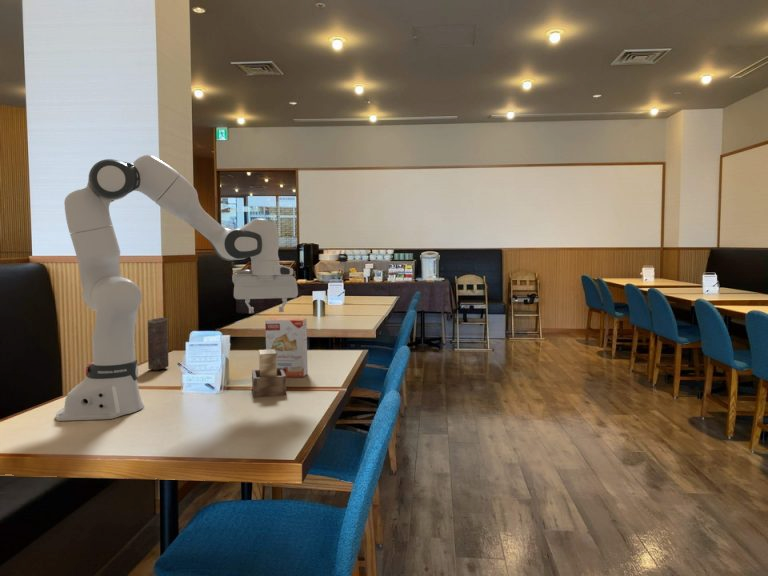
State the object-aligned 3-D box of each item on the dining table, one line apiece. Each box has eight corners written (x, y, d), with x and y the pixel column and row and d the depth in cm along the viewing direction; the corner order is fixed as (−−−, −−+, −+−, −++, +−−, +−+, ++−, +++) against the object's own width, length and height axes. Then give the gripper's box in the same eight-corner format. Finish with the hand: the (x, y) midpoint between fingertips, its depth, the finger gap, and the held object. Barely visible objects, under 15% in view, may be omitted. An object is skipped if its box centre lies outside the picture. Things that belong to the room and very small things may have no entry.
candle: (173, 368, 219) (171, 318, 218) (156, 372, 213) (154, 320, 212) (160, 367, 223) (158, 317, 222) (144, 370, 217) (142, 319, 216)
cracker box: (266, 377, 202) (264, 319, 201) (271, 373, 208) (269, 317, 207) (304, 377, 201) (302, 319, 199) (308, 373, 207) (306, 317, 205)
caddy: (254, 397, 175) (253, 378, 174) (252, 387, 187) (251, 369, 187) (286, 394, 177) (285, 376, 177) (282, 385, 190) (282, 367, 189)
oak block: (261, 391, 178) (260, 354, 177) (259, 385, 185) (258, 350, 185) (277, 390, 179) (276, 353, 178) (275, 384, 187) (274, 349, 186)
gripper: (232, 270, 174) (233, 314, 175) (298, 269, 179) (298, 312, 180) (231, 269, 180) (233, 312, 181) (295, 268, 185) (296, 310, 186)
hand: (266, 312), depth 180 cm, fingers open, 8 cm apart
